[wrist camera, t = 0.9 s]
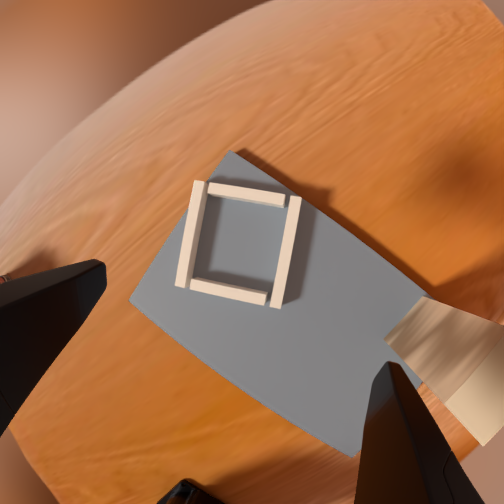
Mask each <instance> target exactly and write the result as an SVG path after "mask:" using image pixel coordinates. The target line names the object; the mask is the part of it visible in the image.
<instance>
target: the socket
mask: <svg viewBox="0 0 504 504" xmlns="http://www.w3.org/2000/svg"><path fill="white" fill-rule="evenodd" d="M208 194H210V195H211V196H215V197H221V198H227V199H233V200H239V201H246V202H251V203H257V204H263V205H269V206H275V207H280V208H284V205H285V200H286V196H285V194H280V193H274V192H268V191H263V190H256V189H250V188H244V187H238V186H231V185H224V184H218V183H211V182H210V183H209V185H208V184H207V183H206V182H204V181H196V180H194V184H193V189H192V194H191V199H190V204H189V209H188V214H187V219H186V224H185V229H184V235H183V240H182V246H181V251H180V257H179V263H178V268H177V274H176V281H175V286H178V287H182V288H186V287H190V290H195V291H199V292H203V293H208V294H212V295H217V296H221V297H226V298H230V299H235V300H239V301H244V302H249V303H253V304H258V305H263V306H264V305H265V303H266V300H267V295H268V292H265V291H260V290H255V289H250V288H245V287H240V286H236V285H231V284H226V283H222V282H217V281H212V280H208V279H203V278H199V277H196V278H192V276H193V271H194V265H195V259H196V254H197V248H198V243H199V237H200V232H201V227H202V222H203V216H204V211H205V206H206V201H207V196H208ZM301 201H302V197H297V196H290V202H289V207H288V213H287V218H286V224H285V229H284V235H283V240H282V245H281V250H280V256H279V261H278V266H277V271H276V276H275V281H274V287H273V292H272V297H271V302H270V307H273V308H278V309H281V306H282V301H283V296H284V291H285V286H286V281H287V276H288V271H289V266H290V261H291V256H292V250H293V245H294V240H295V234H296V229H297V224H298V218H299V213H300V207H301Z"/></svg>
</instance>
